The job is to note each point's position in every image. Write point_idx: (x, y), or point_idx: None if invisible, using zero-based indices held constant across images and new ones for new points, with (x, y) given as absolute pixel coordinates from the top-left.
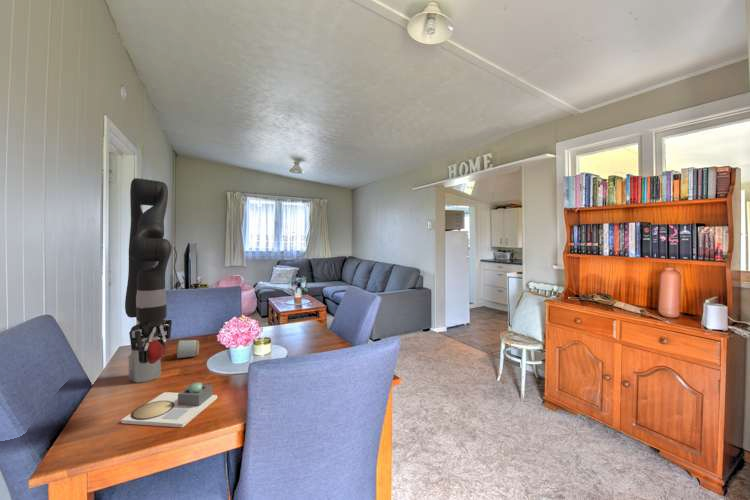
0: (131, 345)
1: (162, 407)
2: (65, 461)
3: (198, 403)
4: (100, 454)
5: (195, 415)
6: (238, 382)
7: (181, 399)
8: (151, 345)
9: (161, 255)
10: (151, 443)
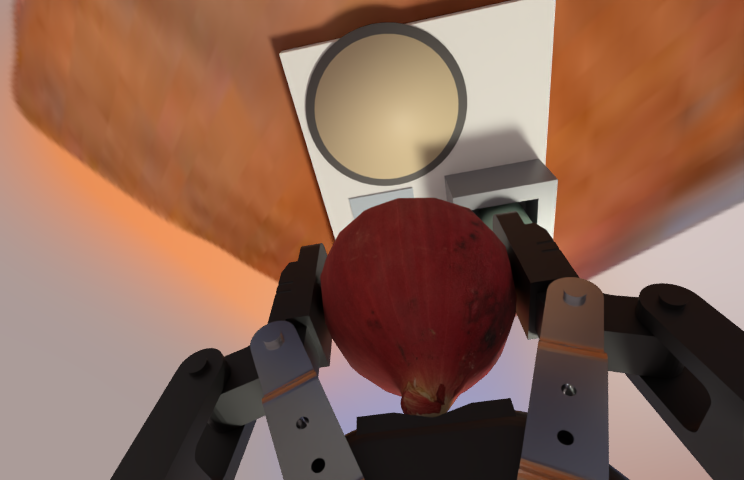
0: (153, 416)
1: (410, 137)
2: (67, 111)
3: None
4: (151, 178)
5: None
6: (677, 227)
7: (449, 201)
8: (376, 383)
9: None
10: (257, 258)
